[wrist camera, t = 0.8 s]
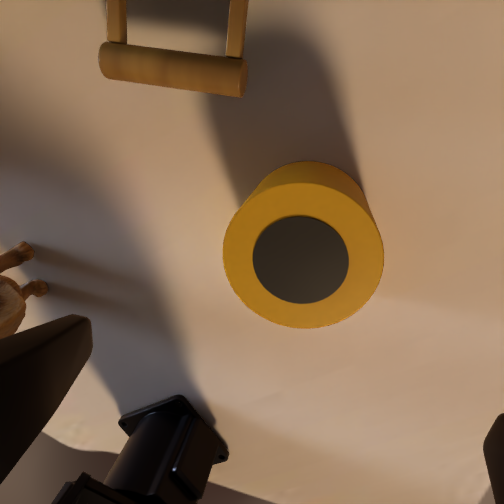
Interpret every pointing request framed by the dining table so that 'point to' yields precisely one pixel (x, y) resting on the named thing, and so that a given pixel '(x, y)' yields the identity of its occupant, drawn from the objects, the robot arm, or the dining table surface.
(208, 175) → the dining table surface
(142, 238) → the dining table surface
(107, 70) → the drawer
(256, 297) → the tape roll
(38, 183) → the dining table surface
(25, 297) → the lion figurine
